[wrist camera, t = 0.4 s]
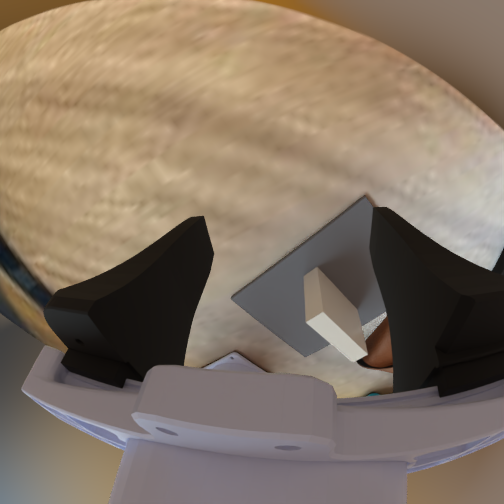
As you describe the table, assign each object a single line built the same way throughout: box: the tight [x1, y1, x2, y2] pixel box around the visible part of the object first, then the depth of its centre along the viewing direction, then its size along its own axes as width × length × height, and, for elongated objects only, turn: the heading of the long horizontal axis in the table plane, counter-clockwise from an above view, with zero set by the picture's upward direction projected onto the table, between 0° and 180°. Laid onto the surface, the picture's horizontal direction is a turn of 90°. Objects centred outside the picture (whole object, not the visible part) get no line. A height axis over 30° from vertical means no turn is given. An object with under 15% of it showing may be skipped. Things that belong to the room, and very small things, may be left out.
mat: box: [231, 195, 386, 357], centre depth 26 cm, size 16×12×1 cm
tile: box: [303, 267, 368, 362], centre depth 23 cm, size 2×7×6 cm, turn 45°
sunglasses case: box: [357, 317, 393, 373], centre depth 28 cm, size 18×7×7 cm
